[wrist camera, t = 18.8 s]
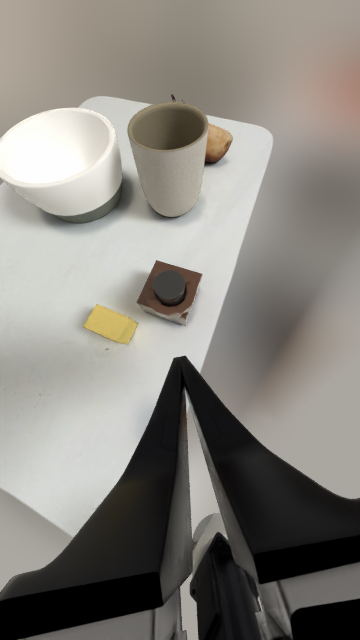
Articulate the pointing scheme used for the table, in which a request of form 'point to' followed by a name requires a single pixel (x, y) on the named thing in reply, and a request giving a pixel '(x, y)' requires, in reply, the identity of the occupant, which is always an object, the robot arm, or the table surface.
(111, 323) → the yellow block
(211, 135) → the vegetable
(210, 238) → the table surface
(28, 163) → the bowl
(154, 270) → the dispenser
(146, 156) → the planter
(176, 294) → the dark grey short cylinder
